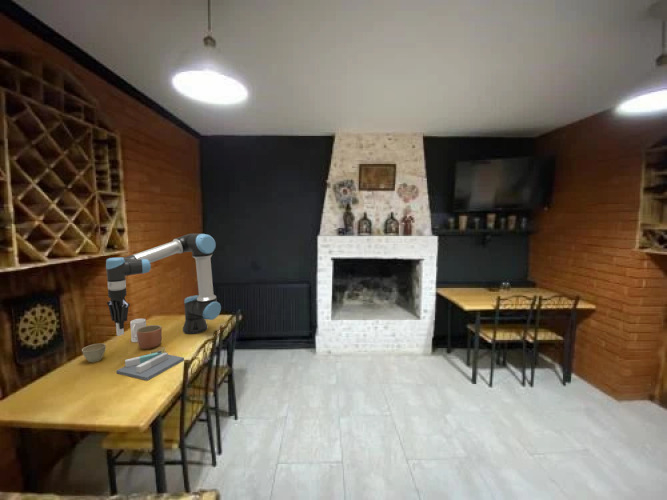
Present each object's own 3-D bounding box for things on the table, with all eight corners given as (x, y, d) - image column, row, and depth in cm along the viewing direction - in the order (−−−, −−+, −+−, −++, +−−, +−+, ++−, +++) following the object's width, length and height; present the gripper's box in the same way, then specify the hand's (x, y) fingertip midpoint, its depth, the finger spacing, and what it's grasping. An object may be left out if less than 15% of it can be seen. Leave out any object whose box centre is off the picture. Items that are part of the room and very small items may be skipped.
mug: (138, 344, 188) (137, 324, 186) (124, 344, 188) (123, 324, 186) (150, 336, 199) (149, 318, 198) (136, 336, 199) (135, 318, 198)
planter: (140, 353, 176) (139, 334, 175) (135, 346, 185) (134, 328, 184) (164, 347, 184) (163, 328, 183) (159, 340, 194) (158, 323, 192)
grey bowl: (81, 360, 167) (80, 347, 166) (104, 354, 174) (103, 341, 174) (85, 366, 160) (83, 353, 159) (108, 360, 168) (107, 347, 167)
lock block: (160, 351, 174) (160, 346, 174) (165, 352, 173) (165, 347, 173) (151, 356, 168) (150, 351, 168) (156, 357, 167) (155, 352, 167)
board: (157, 353, 176) (157, 344, 175) (186, 359, 169) (185, 349, 168) (116, 373, 154) (115, 362, 153) (147, 380, 147) (146, 369, 146)
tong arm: (161, 356, 168) (161, 351, 168) (162, 358, 166) (162, 353, 166) (125, 365, 158) (125, 359, 158) (126, 367, 156) (125, 361, 156)
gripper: (100, 289, 156) (103, 335, 159) (119, 291, 152) (122, 339, 154) (115, 286, 163) (118, 330, 166) (133, 288, 159) (136, 333, 161)
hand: (120, 334), depth 160 cm, fingers closed
